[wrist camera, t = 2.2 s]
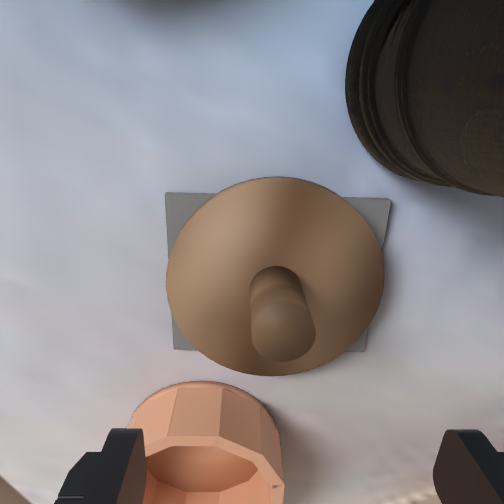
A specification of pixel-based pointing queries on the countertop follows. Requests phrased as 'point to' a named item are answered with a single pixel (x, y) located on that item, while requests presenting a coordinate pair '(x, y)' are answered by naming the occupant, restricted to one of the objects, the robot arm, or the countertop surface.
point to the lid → (274, 276)
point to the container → (431, 90)
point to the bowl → (209, 446)
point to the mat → (188, 203)
